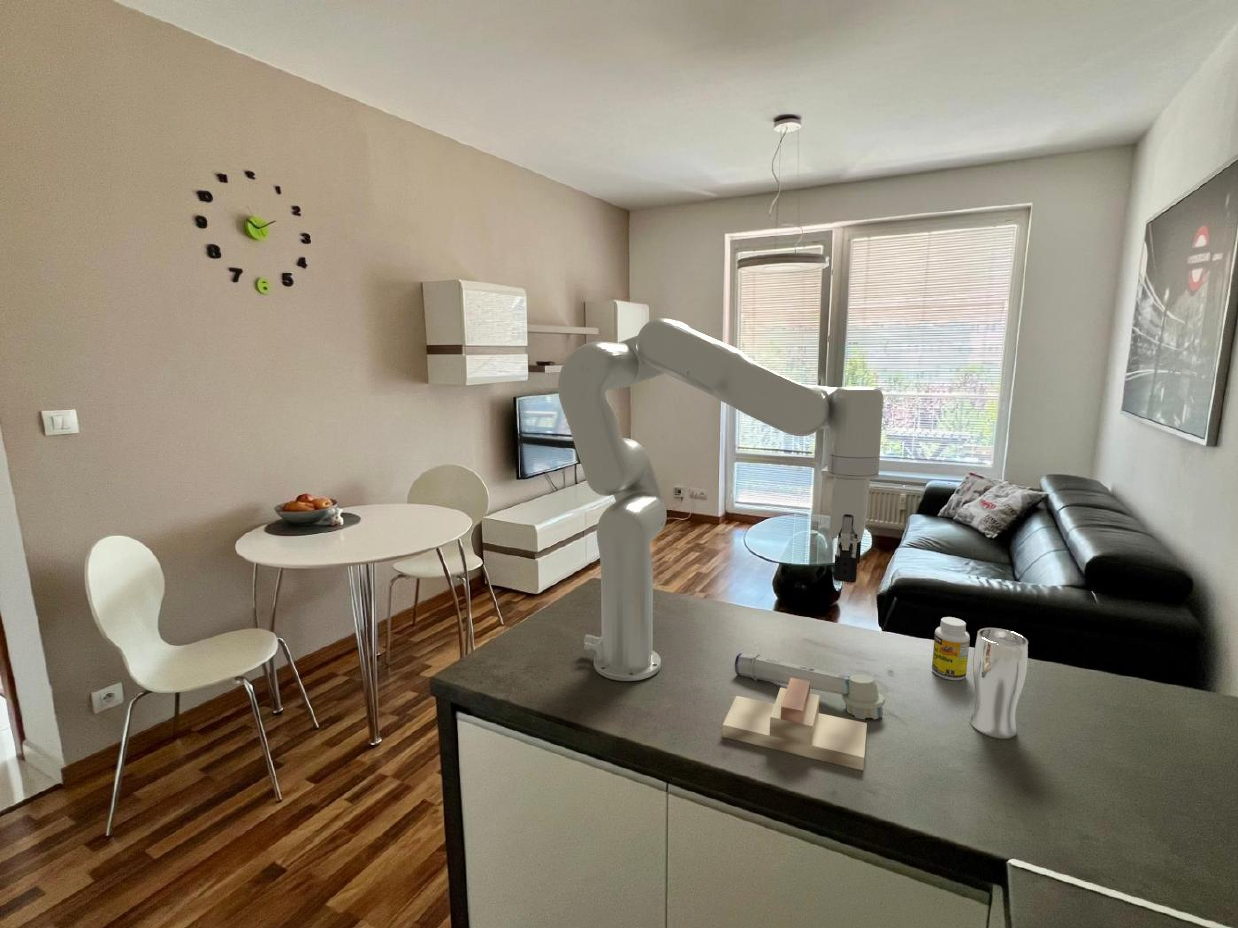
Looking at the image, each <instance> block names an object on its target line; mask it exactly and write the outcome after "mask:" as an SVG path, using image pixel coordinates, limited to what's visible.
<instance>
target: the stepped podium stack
mask: <svg viewBox="0 0 1238 928" xmlns="http://www.w3.org/2000/svg"><path fill="white" fill-rule="evenodd" d="M820 697H821V696H820V694H815V693H811V689H810V681H805V680H800V679H795V678H790V681H789V684H788V685H787V687H786V688H785V687H780V688H779V691H778V694H777V696H776V699H775V701H774V703H772V702H768V701H764V700H758V699H753V698H749V697H745V696H741V695H740V696H739V695H736V696H735V697H734V700H733V702H732V703H731V706H730V708H729V710H728V713H727V715H726V716H725V719H724V720H723V721H724V722H723V724H722V738H727V739H729V740H730V739H731V740H735V741H739V742H743V743H745V744H746V743H747V744H751V745H755V746H758V747H759V746H760V747H763V748H764V747H765V748H767V749H771V750H776V751H780V752H784V753H787V754H793V755H796V756H802V757H805V758H809V759H814V760H818V761H822V762H827V763H830V764H835V765H839V766H843V767H847V768H851V769H856V770H859V771H864V769H865V767H864V765H865V754H866V739H867V729H868V728H867V726H868V723H867V722H862V721H858V720H853V719H848V718H845V717H839V716H834V715H829V714H825V713H820V701H821V700H820Z"/></svg>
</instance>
